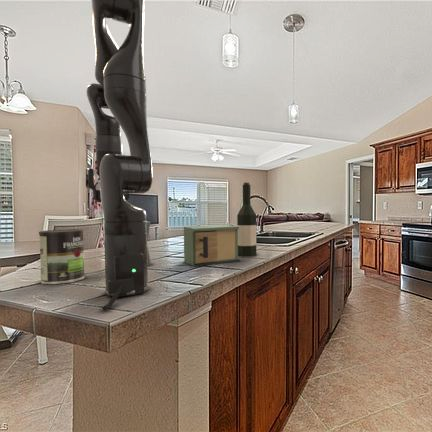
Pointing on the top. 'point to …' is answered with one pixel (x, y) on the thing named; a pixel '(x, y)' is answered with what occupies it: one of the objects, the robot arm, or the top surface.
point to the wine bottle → (246, 225)
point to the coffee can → (61, 256)
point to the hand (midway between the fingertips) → (112, 201)
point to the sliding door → (205, 247)
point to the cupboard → (225, 243)
